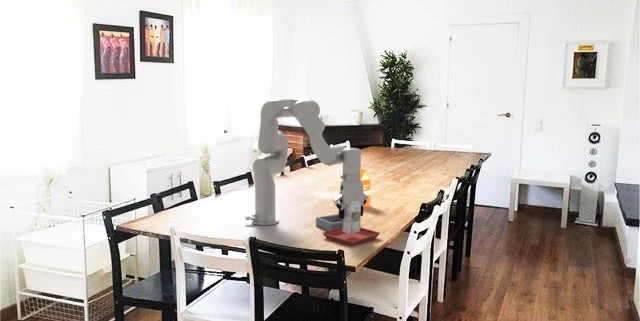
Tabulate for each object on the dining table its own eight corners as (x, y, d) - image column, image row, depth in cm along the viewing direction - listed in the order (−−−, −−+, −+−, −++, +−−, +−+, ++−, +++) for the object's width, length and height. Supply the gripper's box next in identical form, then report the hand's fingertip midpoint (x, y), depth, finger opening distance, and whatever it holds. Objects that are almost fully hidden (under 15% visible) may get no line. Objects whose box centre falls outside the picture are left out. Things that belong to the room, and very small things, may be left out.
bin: (331, 232, 240) (331, 223, 240) (316, 225, 251) (316, 217, 251) (355, 228, 247) (355, 219, 247) (339, 222, 258) (339, 213, 258)
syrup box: (351, 229, 236) (351, 196, 233) (360, 232, 231) (361, 199, 229) (341, 231, 232) (341, 198, 230) (351, 234, 228) (351, 201, 225)
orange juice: (357, 203, 299) (358, 167, 296) (370, 205, 292) (370, 169, 289) (348, 205, 293) (348, 168, 290) (360, 208, 287) (361, 170, 284)
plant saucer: (352, 249, 219) (352, 241, 219) (321, 239, 232) (321, 232, 231) (380, 240, 232) (381, 232, 231) (349, 231, 244) (349, 224, 244)
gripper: (339, 180, 221) (338, 221, 223) (373, 176, 230) (372, 216, 232) (329, 177, 227) (329, 217, 229) (362, 174, 236) (362, 212, 238)
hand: (351, 216), depth 231 cm, fingers open, 9 cm apart
